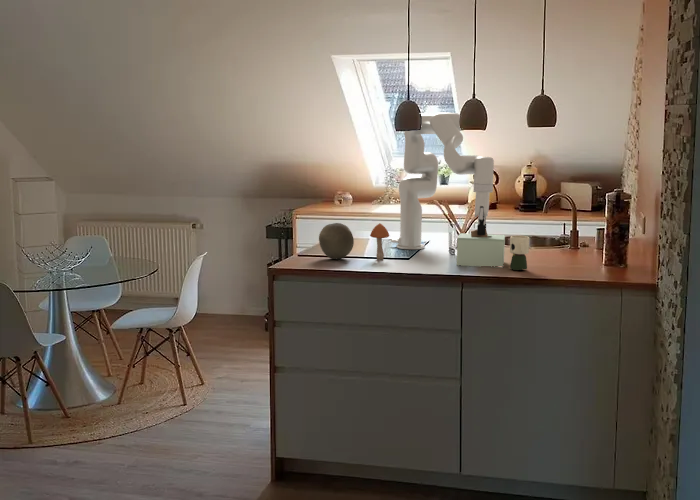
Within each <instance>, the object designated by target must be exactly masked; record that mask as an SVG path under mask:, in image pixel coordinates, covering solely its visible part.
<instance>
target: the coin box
mask: <svg viewBox="0 0 700 500" xmlns="http://www.w3.org/2000/svg"><path fill="white" fill-rule="evenodd" d="M487 235H488V237H472V236H471V233H463V232H462V233H459V235H458V236H457V242H456V266H459V265H461V267H463V266H464V267H481V266H491V267H490V268H496V267H495V266H503V267H504V265H503V264H505V246H506V245H505V244H506V235H505V234H488V233H487ZM492 266H494V267H492Z"/></svg>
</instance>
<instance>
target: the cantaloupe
mask: <svg viewBox="0 0 700 500" xmlns="http://www.w3.org/2000/svg"><path fill="white" fill-rule="evenodd" d="M318 243H319V246H320V249H321V250H322V253H324V255H325V256H326V257H328V258H329V259H332V260H341V259H344V258H346V257H347V256H348V255H349V254H350V253H351V251H352V250H353V248H354V245H355V241H354V235H353V232H352V231H351V229H350V228H349V226H347V225H345V224H343V223H341V222H333V223H329V224H326V225H324V227H323V228H322V229H321V231H320V232H319V235H318Z"/></svg>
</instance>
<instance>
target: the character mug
mask: <svg viewBox="0 0 700 500" xmlns="http://www.w3.org/2000/svg"><path fill="white" fill-rule="evenodd" d="M509 242H510V243H509V253H511V254H512V256H511V261H510V270H512V269H513V270H514V271H518V270H520V271H521V270H528V264H527V257H526V255H528V254H529V252H530V251H529V250H530V236H528V235H527V236H526V235H510V239H509Z"/></svg>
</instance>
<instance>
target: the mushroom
mask: <svg viewBox="0 0 700 500" xmlns="http://www.w3.org/2000/svg"><path fill="white" fill-rule="evenodd" d="M369 236H370V237H371V238H375V239H376V245H377V247H376V259H377V260H378V261H379V260H384V257H385V255H384V254H385V253H384V250H383V239H386V238H389V237H390V234H389V232H388V229H387V228H386V227H385V226H384V225H383V224H382V223H378V224H376V225H375V226H374V227H373V228H372V230H371V231H370V234H369Z"/></svg>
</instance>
